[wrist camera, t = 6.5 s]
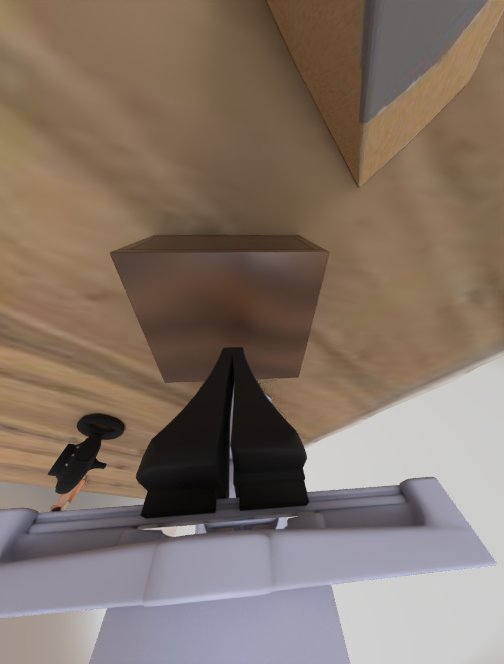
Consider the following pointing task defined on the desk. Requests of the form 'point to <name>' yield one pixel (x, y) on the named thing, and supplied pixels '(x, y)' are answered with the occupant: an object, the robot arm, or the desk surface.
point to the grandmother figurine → (67, 498)
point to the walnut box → (223, 242)
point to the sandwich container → (383, 65)
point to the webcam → (84, 452)
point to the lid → (223, 306)
